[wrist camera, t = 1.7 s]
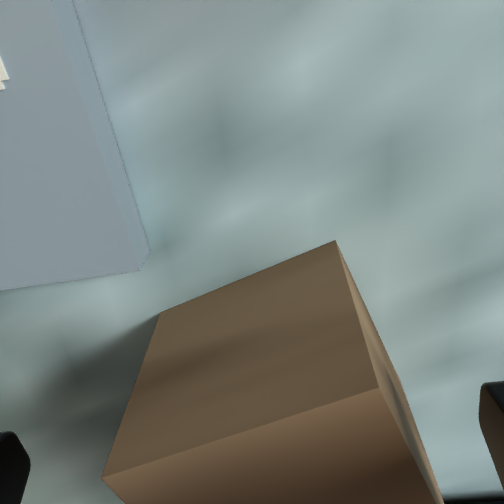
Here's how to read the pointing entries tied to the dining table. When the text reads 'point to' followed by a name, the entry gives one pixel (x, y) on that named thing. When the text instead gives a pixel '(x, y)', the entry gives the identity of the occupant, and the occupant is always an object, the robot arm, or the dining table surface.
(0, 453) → the robot arm
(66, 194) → the mat
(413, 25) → the dining table surface
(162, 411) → the walnut cube
